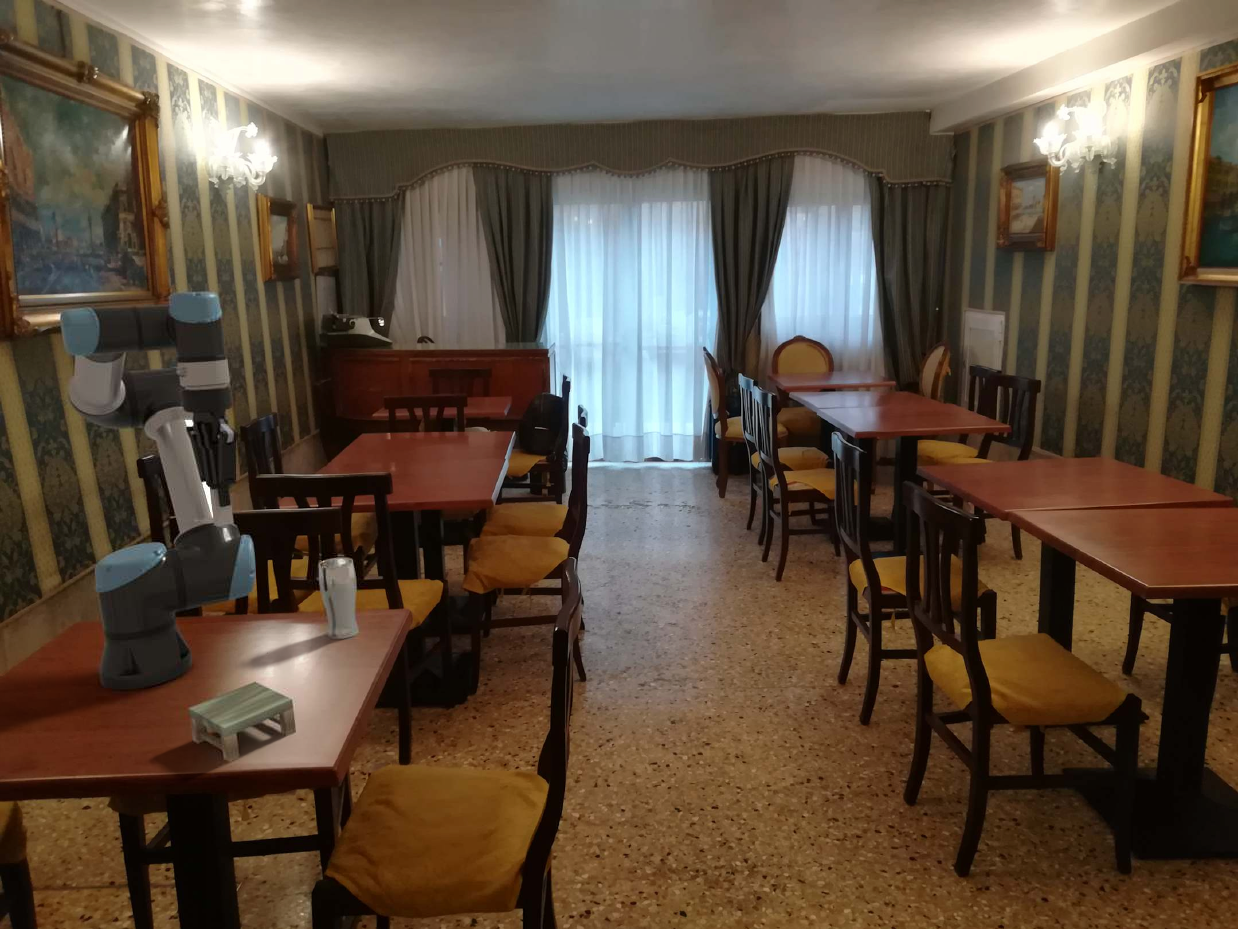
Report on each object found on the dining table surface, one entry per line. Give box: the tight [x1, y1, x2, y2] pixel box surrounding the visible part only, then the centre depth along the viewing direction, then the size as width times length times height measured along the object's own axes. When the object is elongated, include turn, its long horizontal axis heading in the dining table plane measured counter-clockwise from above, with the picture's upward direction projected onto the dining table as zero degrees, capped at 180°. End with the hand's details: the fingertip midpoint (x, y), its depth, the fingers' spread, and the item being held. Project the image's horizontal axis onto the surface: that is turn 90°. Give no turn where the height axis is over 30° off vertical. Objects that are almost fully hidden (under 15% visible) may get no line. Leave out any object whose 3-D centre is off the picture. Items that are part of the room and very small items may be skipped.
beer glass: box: [318, 557, 360, 640], centre depth 177 cm, size 7×7×15 cm
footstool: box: [188, 681, 297, 763], centre depth 138 cm, size 6×11×11 cm
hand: (223, 523), depth 152 cm, fingers closed
